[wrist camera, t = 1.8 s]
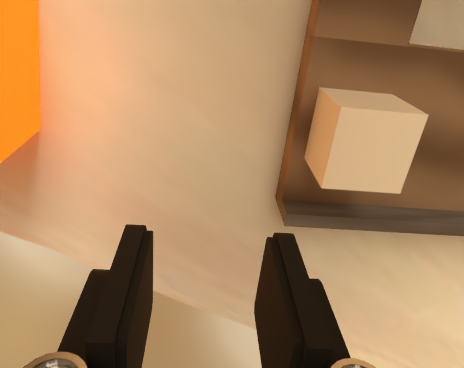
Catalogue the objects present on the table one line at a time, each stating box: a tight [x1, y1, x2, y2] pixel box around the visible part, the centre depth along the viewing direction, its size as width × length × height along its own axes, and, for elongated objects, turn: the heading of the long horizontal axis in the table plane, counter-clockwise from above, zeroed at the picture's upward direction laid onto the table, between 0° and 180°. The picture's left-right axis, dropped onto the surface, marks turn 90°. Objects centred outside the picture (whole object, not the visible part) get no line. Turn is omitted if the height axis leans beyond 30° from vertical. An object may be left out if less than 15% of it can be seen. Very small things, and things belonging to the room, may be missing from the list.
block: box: [304, 87, 429, 194], centre depth 23 cm, size 5×5×4 cm
